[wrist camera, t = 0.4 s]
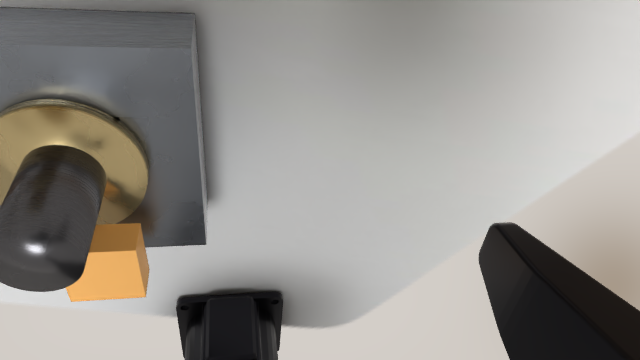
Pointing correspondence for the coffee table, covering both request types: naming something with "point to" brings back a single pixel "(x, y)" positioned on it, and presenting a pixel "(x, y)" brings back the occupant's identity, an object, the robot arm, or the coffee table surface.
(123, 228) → the cardboard box
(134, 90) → the socket block
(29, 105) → the dark flanged cylinder
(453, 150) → the coffee table surface
